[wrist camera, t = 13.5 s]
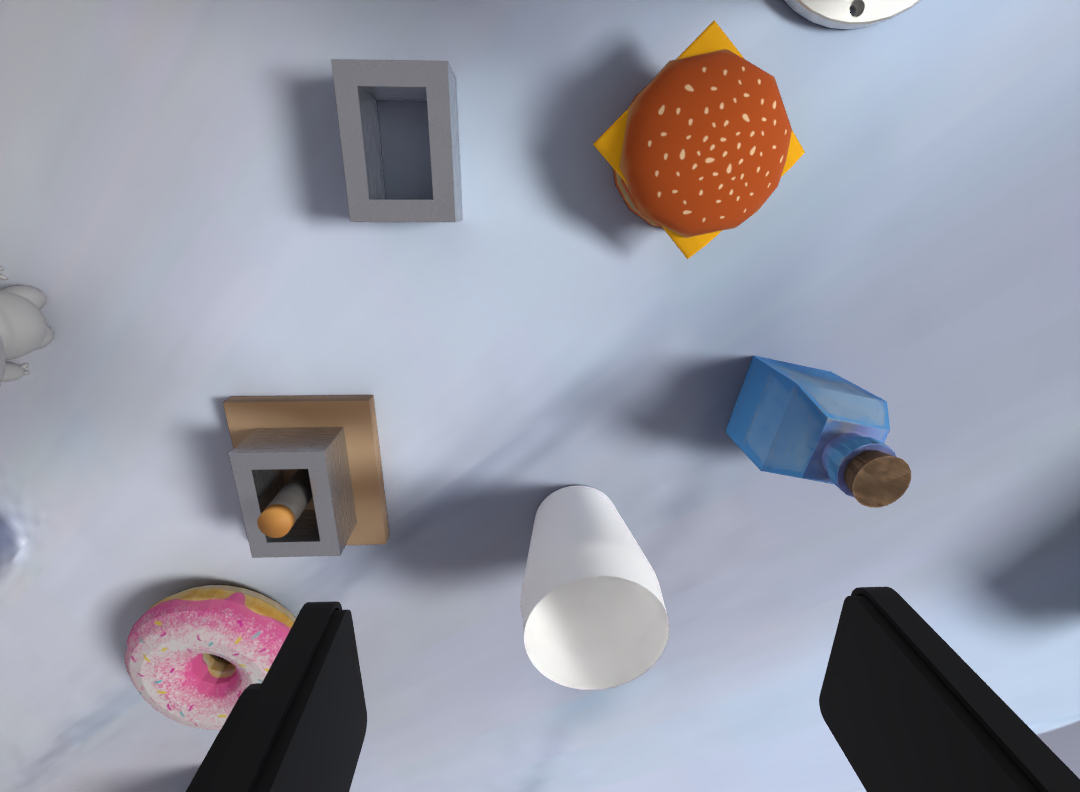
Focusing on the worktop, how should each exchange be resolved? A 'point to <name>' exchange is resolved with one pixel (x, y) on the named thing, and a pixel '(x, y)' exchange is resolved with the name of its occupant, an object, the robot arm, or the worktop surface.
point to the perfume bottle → (817, 431)
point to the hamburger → (701, 143)
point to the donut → (204, 651)
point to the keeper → (297, 491)
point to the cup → (589, 595)
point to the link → (264, 478)
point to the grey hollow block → (362, 144)
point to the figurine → (20, 327)
